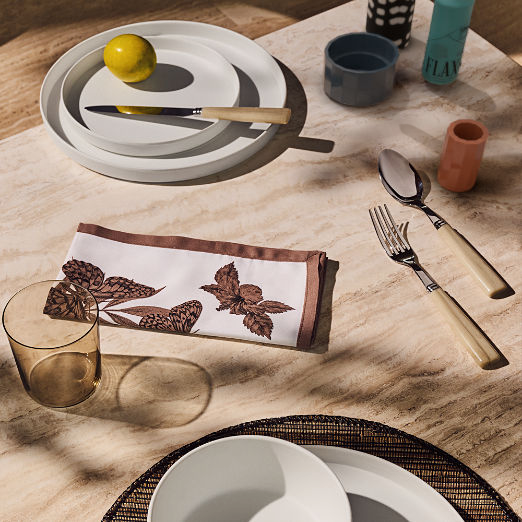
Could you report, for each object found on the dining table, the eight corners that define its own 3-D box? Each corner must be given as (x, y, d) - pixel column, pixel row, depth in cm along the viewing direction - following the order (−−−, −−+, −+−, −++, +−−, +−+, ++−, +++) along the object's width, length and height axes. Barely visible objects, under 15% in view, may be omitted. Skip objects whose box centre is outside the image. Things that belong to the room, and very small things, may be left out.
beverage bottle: (415, 88, 117) (434, -25, 102) (423, 68, 121) (443, -44, 106) (453, 96, 115) (478, -18, 100) (460, 75, 119) (486, -38, 104)
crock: (470, 166, 104) (483, 118, 97) (478, 191, 100) (493, 143, 93) (433, 167, 104) (444, 119, 97) (440, 192, 100) (452, 144, 93)
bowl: (388, 66, 122) (393, 30, 116) (398, 107, 114) (404, 71, 108) (320, 68, 122) (322, 33, 116) (325, 110, 114) (327, 74, 108)
